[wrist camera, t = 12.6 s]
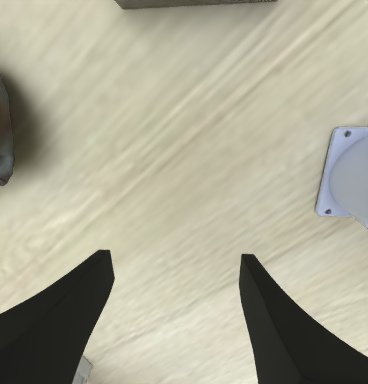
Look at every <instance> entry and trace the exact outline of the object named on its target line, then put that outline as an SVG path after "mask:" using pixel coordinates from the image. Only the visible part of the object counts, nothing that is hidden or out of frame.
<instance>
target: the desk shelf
mask: <svg viewBox="0 0 368 384" xmlns="http://www.w3.org/2000/svg"><path fill="white" fill-rule="evenodd" d="M115 1H116V3H117V4H118V5H119V6H120V7H121V8H122V9H134V8H153V7H173V6H193V5H212V4H232V3H251V2H271V1H277V0H115Z"/></svg>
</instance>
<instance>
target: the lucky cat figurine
mask: <svg viewBox="0 0 368 384" xmlns="http://www.w3.org/2000/svg"><path fill="white" fill-rule="evenodd" d="M10 116H11V115H10V112H9V97H8V94H7V91H6V89H5V86H4V84H3V81H2V78H1V75H0V186H4V185H5V184H7V182H8V180H9V178H10V177H11V176H12V174H13V167H14V147H13V134H12V126H11V117H10Z"/></svg>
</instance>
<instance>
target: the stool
mask: <svg viewBox="0 0 368 384" xmlns="http://www.w3.org/2000/svg"><path fill="white" fill-rule="evenodd" d="M91 368H92V365H91V364H90V363H89V362H88V361H87V359H86V358H85V357H84V356H82V357H81V360H80V363H79V365H78V368H77V371H76V374H75V377H74V380H73V383H72V384H85V383H86V380H87V378H88V375H89V373H90V370H91Z"/></svg>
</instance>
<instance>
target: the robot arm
mask: <svg viewBox="0 0 368 384" xmlns="http://www.w3.org/2000/svg"><path fill="white" fill-rule="evenodd" d="M346 131H348V135H347V136H344V133H345V132H346ZM327 209H329V211H328V212H325V211H326V210H327ZM315 212H316V214H317V215H319V216H337V217H354V218H355V219H357V220H358V221H359V222H360V223H362V224H363V225H364V226H365V227H366V228H368V127H338V128H336V129H335V130H334V131H333V133H332V137H331V142H330V146H329V151H328V155H327V160H326V164H325V169H324V173H323V178H322V182H321V187H320V191H319V196H318V200H317V205H316V209H315ZM114 280H115V277H114V271H113V265H112V260H111V254H110V250H98V251H97V252H95V253H94V254H93V255H91V256H90V257H89V258H87V259H86V260H85V261H83V262H82V263H81V264H80V265H78V266H77V267H76V268H74V269H73V270H72V271H70V272H69V273H68V274H66V275H65V276H63V277H62V278H61V279H59V280H58V281H56V282H55V283H53V284H52V285H50V286H49V287H47V288H46V289H44V290H43V291H41V292H40V293H38V294H36V295H34V296H33V297H31V298H29V299H28V300H26V301H24V302H22V303H20V304H18V305H16V306H15V307H13V308H11V309H9V310H7V311H5V312H3V313H1V314H0V384H72V383H73V380H74V377H75V374H76V371H77V368H78V365H79V363H80V360H81V357H82V355H83V352H84V349H85V347H86V344H87V342H88V340H89V337H90V335H91V333H92V331H93V329H94V327H95V325H96V323H97V321H98V319H99V317H100V314H101V312H102V310H103V308H104V306H105V304H106V302H107V300H108V298H109V295H110V292H111V289H112V286H113V283H114ZM239 289H240V296H241V303H242V307H243V311H244V316H245V320H246V324H247V328H248V332H249V336H250V340H251V344H252V348H253V353H254V358H255V365H256V371H257V377H258V384H368V357H367V356H365V355H363V354H362V353H360V352H358V351H357V350H355V349H354V348H352V347H351V346H349V345H348V344H347V343H345V342H344V341H342V340H341V339H339V338H338V337H336V336H335V335H334V334H332V333H331V332H330V331H328V330H327V329H326V328H324V327H323V326H322V325H321V324H319V323H318V322H317V321H316V320H314V319H313V318H312V317H311V316H309V315H308V314H307V313H306V312H305V311H304V310H303V309H302V308H300V307H299V306H298V305H297V304H296V303H295V302H294V301H293V300H292V299H291V298H290V297H289V296H288V295H287V294H286V293H285V292H284V291H283V290H282V289H281V287H280V286H279V285H278V284H277V283H276V282H275V281H274V279H273V278H272V277H271V276H270V275H269V273H268V272H267V271H266V270H265V268H264V267H263V266H262V265H261V263H260V262H259V261H258V259H257V258H256V257H255V255H254V254H242V255H241V266H240V277H239Z"/></svg>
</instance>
